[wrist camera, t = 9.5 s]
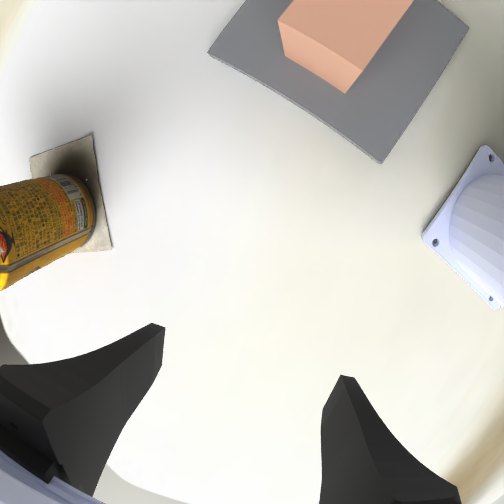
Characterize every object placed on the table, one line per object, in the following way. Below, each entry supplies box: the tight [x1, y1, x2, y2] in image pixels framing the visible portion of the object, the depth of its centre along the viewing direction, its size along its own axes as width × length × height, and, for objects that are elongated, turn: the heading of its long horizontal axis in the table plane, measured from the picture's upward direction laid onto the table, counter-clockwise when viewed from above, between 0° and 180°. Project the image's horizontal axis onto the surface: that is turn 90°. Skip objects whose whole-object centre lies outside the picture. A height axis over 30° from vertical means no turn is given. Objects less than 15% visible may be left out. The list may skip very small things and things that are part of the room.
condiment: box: [0, 135, 112, 291], centre depth 16 cm, size 7×8×12 cm
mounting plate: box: [207, 0, 469, 164], centre depth 15 cm, size 12×12×1 cm
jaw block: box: [278, 0, 414, 94], centre depth 12 cm, size 4×8×6 cm, turn 147°
